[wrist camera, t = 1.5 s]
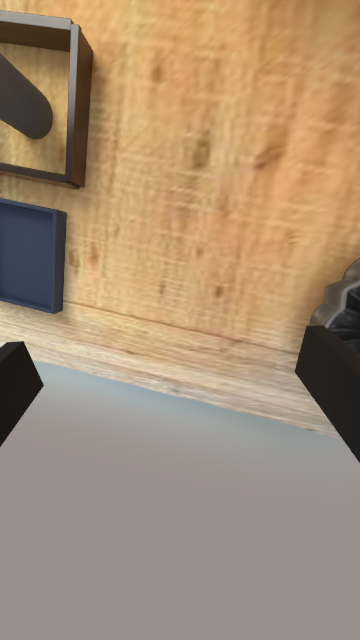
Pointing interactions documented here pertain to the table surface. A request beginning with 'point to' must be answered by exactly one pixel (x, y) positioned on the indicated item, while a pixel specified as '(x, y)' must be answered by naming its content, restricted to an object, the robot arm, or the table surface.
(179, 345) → the table surface
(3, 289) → the tray
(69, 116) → the dark brown square frame
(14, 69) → the bottle
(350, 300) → the bundt pan
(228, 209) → the table surface
